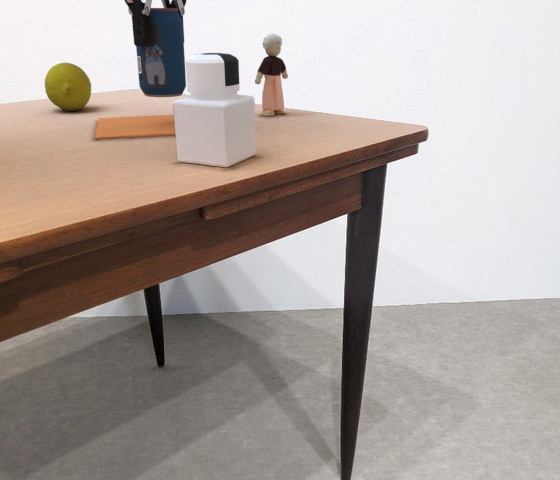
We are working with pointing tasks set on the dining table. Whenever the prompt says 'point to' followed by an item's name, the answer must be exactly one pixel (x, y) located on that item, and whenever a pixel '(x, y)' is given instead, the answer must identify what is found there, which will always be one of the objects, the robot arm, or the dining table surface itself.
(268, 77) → the grandmother figurine
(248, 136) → the medicine bottle
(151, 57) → the soda can
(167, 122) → the orange cloth
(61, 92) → the lemon
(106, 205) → the dining table surface
